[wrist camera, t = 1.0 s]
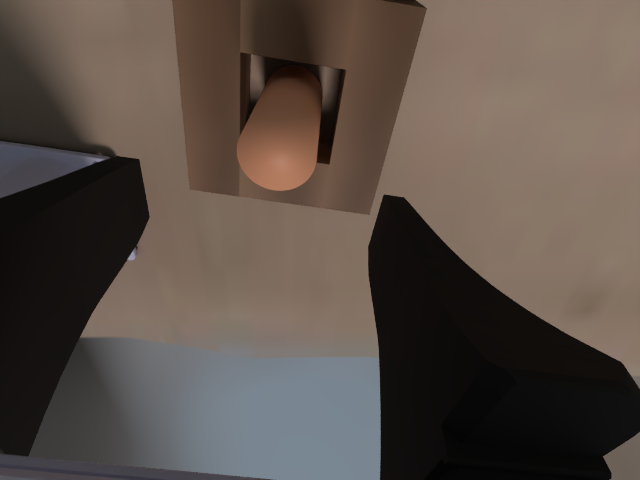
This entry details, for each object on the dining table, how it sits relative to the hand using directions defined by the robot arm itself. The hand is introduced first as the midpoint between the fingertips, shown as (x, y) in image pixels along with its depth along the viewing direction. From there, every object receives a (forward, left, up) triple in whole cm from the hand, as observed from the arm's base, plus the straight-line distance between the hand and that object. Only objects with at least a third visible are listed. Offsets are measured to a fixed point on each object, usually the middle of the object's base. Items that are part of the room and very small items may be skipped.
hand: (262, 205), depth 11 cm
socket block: (0, 0, -10) cm, 10 cm away
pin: (0, 0, -10) cm, 10 cm away
